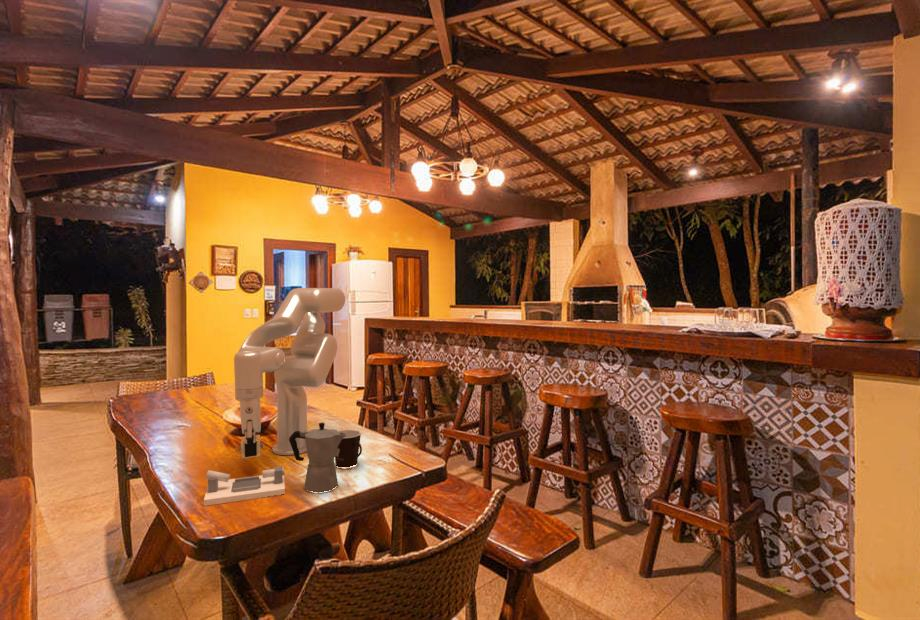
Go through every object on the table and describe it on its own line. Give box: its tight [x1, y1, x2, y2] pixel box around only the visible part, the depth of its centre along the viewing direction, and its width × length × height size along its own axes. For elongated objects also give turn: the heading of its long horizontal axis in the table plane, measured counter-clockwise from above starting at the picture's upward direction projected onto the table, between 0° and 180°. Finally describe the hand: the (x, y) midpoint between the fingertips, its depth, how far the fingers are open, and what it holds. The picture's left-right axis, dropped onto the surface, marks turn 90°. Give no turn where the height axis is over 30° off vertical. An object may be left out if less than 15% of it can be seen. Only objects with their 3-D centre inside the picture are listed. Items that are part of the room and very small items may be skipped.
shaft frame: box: [203, 465, 286, 507], centre depth 124 cm, size 19×12×7 cm, turn 113°
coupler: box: [238, 434, 264, 459], centre depth 137 cm, size 7×4×5 cm
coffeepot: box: [289, 422, 346, 492], centre depth 127 cm, size 15×9×18 cm, turn 93°
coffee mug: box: [334, 429, 363, 467], centre depth 142 cm, size 12×9×10 cm
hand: (251, 452), depth 137 cm, fingers closed on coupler, 4 cm apart
